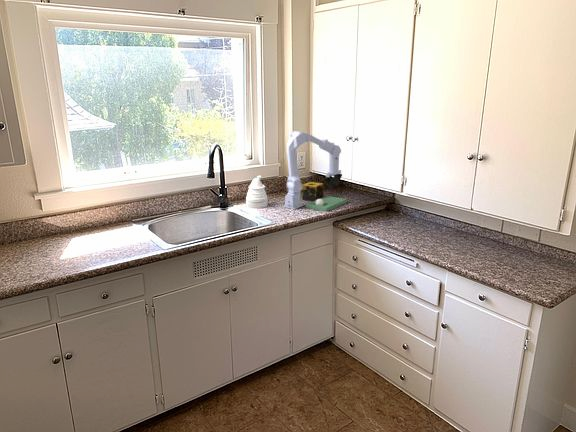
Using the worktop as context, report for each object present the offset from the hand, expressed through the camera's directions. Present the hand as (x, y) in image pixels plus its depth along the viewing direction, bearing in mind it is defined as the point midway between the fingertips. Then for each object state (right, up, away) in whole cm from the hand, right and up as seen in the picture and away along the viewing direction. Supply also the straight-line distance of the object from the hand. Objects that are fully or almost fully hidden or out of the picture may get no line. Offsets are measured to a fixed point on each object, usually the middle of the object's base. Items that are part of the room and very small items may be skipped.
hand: (333, 186), depth 263 cm
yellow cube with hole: (-12, -8, +8) cm, 16 cm away
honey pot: (-47, -12, -4) cm, 48 cm away
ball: (-9, -10, -11) cm, 18 cm away
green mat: (-5, -11, -5) cm, 13 cm away
